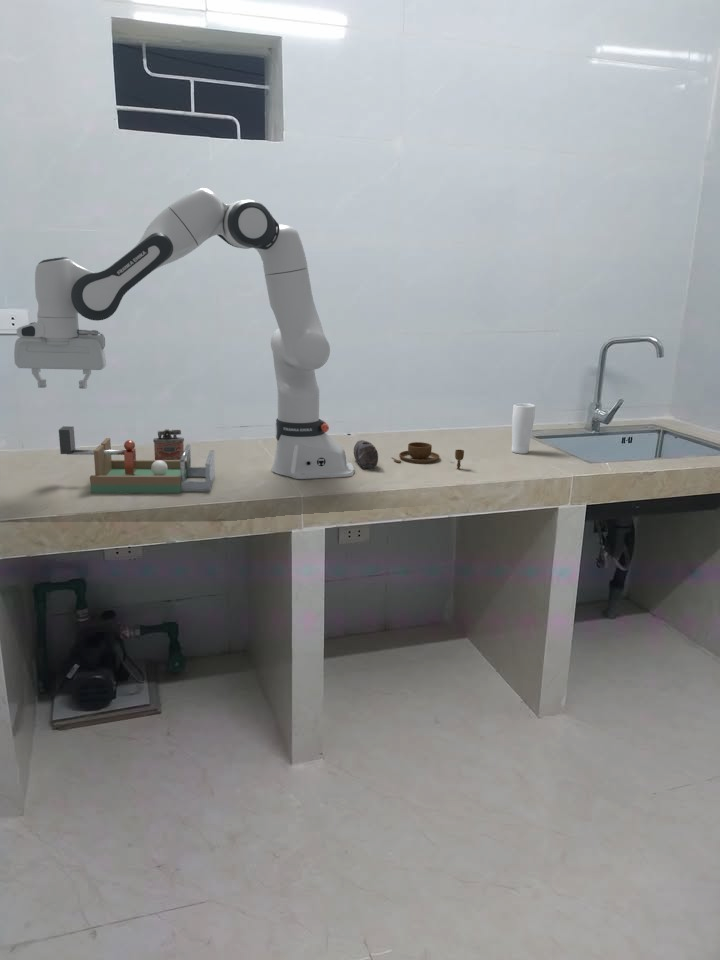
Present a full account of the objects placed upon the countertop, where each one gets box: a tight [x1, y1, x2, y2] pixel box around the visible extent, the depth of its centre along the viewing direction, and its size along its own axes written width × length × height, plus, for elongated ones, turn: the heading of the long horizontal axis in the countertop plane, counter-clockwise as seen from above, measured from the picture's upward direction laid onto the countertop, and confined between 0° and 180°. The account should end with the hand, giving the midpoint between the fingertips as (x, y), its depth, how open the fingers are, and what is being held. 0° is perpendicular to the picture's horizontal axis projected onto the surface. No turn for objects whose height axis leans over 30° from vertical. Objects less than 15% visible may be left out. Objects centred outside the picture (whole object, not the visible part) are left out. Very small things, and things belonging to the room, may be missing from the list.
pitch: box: [89, 437, 188, 494], centre depth 185 cm, size 21×16×10 cm
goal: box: [180, 443, 216, 493], centre depth 187 cm, size 7×14×8 cm, turn 6°
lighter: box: [153, 428, 185, 460], centre depth 203 cm, size 8×3×10 cm, turn 105°
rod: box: [58, 425, 137, 474], centre depth 183 cm, size 17×4×11 cm, turn 96°
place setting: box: [391, 441, 465, 471], centre depth 216 cm, size 18×20×6 cm
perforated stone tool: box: [353, 439, 379, 469], centre depth 212 cm, size 15×5×7 cm, turn 13°
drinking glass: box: [511, 402, 536, 455], centre depth 231 cm, size 7×7×15 cm
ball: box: [151, 460, 168, 476], centre depth 186 cm, size 4×4×4 cm
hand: (62, 387), depth 178 cm, fingers open, 8 cm apart
